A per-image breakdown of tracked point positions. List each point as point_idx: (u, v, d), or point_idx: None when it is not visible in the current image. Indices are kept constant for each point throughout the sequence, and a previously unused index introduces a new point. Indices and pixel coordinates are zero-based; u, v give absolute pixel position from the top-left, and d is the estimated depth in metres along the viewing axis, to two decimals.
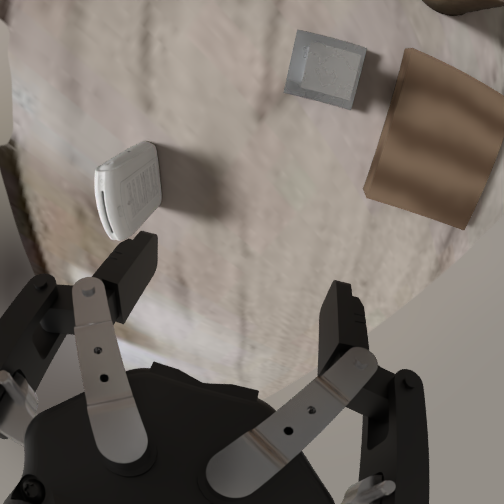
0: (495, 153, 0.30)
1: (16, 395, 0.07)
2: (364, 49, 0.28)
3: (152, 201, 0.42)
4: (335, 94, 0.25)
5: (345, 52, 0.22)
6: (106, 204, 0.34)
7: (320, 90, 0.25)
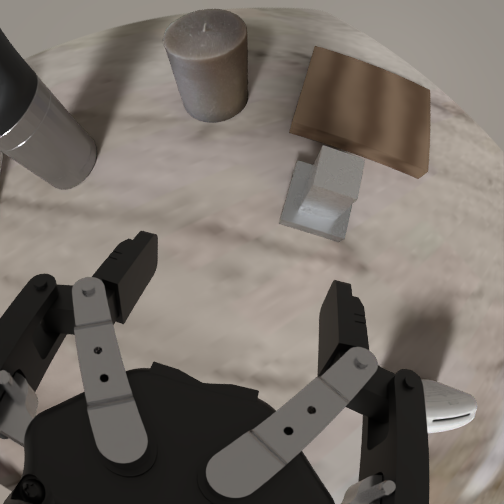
0: (362, 63, 0.41)
1: (16, 395, 0.07)
2: (298, 162, 0.38)
3: (435, 383, 0.33)
4: (361, 170, 0.29)
5: (321, 157, 0.30)
6: (446, 416, 0.24)
7: (358, 182, 0.29)
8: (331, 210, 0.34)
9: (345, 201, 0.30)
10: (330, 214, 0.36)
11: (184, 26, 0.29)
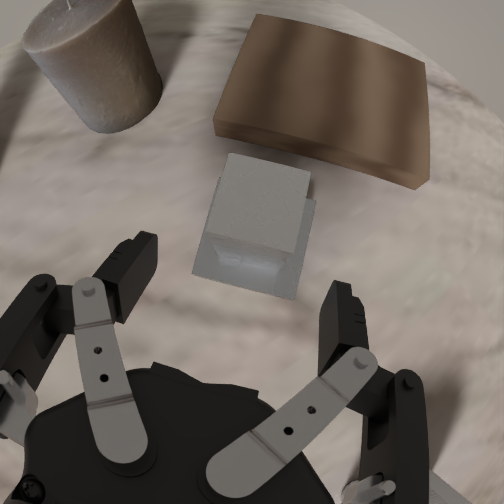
0: (325, 29, 0.28)
1: (16, 395, 0.07)
2: None
3: (430, 482, 0.20)
4: (303, 194, 0.16)
5: (225, 175, 0.16)
6: None
7: (298, 218, 0.16)
8: (264, 261, 0.21)
9: (276, 254, 0.17)
10: (266, 265, 0.22)
11: (50, 10, 0.16)
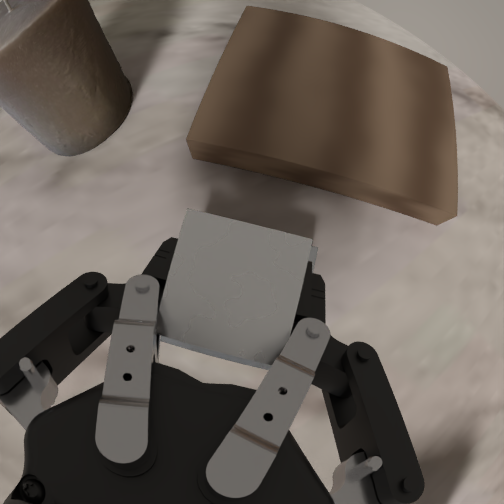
0: (330, 24, 0.23)
1: (35, 383, 0.07)
2: None
3: None
4: (299, 276, 0.11)
5: (180, 247, 0.11)
6: None
7: (289, 315, 0.10)
8: None
9: None
10: None
11: None
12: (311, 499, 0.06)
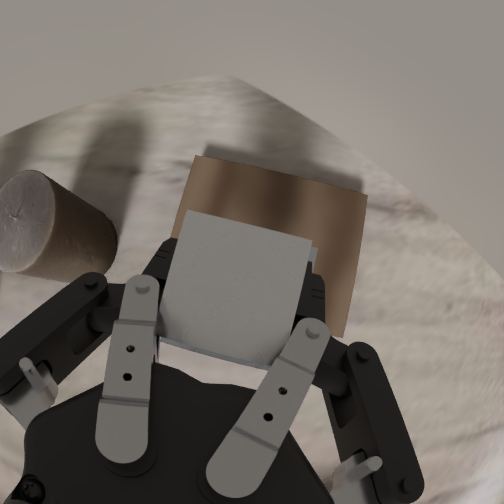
0: (262, 171, 0.34)
1: (35, 384, 0.07)
2: None
3: None
4: (298, 277, 0.11)
5: (180, 247, 0.11)
6: None
7: (289, 317, 0.10)
8: None
9: None
10: None
11: (0, 210, 0.23)
12: (311, 499, 0.06)
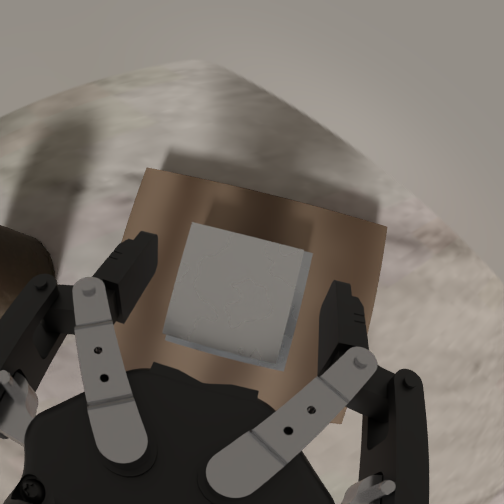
0: (238, 191, 0.24)
1: (16, 395, 0.07)
2: None
3: None
4: (291, 283, 0.12)
5: (186, 256, 0.12)
6: None
7: (283, 318, 0.12)
8: None
9: None
10: None
11: None
12: (316, 503, 0.06)
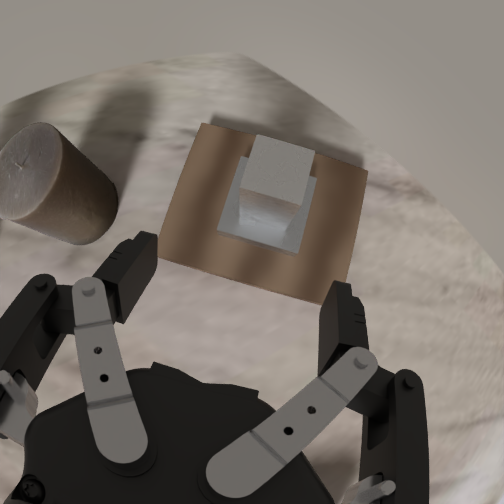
0: None
1: (16, 395, 0.07)
2: (242, 158, 0.31)
3: None
4: (309, 165, 0.22)
5: (254, 149, 0.22)
6: None
7: (305, 182, 0.22)
8: (276, 218, 0.27)
9: (287, 207, 0.23)
10: (277, 223, 0.29)
11: (6, 160, 0.22)
12: (316, 503, 0.06)
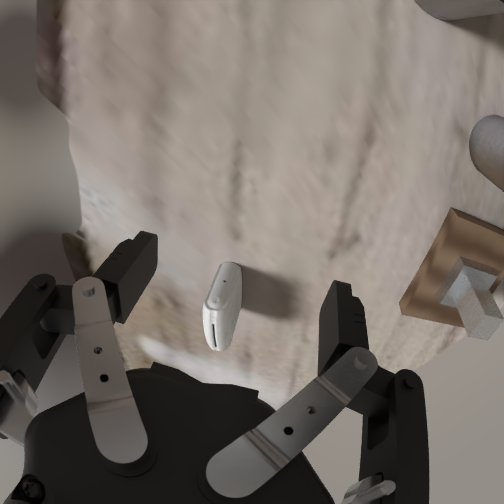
0: (499, 280, 0.43)
1: (16, 395, 0.07)
2: (495, 277, 0.40)
3: (238, 311, 0.54)
4: (482, 338, 0.36)
5: (498, 319, 0.34)
6: (216, 333, 0.46)
7: (476, 337, 0.36)
8: (462, 306, 0.40)
9: (468, 326, 0.37)
10: (459, 301, 0.41)
11: None
12: (316, 503, 0.06)
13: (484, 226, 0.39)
